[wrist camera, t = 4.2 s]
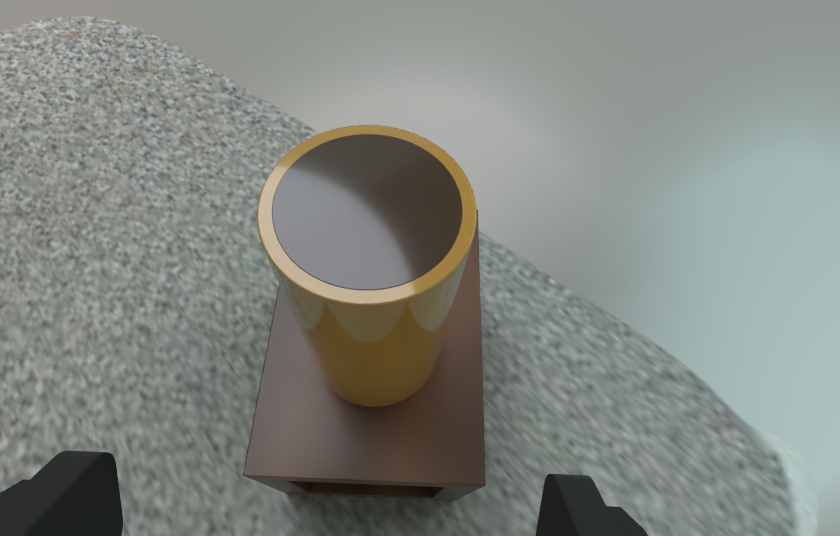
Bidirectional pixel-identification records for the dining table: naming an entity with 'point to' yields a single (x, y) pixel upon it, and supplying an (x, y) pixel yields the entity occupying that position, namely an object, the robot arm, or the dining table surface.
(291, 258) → the tumbler
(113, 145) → the dining table surface
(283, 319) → the shelf
